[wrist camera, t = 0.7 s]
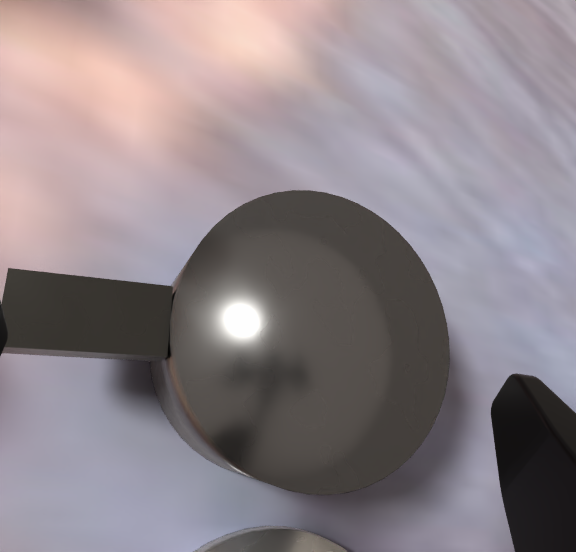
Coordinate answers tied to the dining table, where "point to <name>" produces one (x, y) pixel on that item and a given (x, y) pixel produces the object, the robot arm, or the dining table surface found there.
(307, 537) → the lid
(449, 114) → the dining table surface
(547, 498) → the robot arm
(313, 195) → the pot
